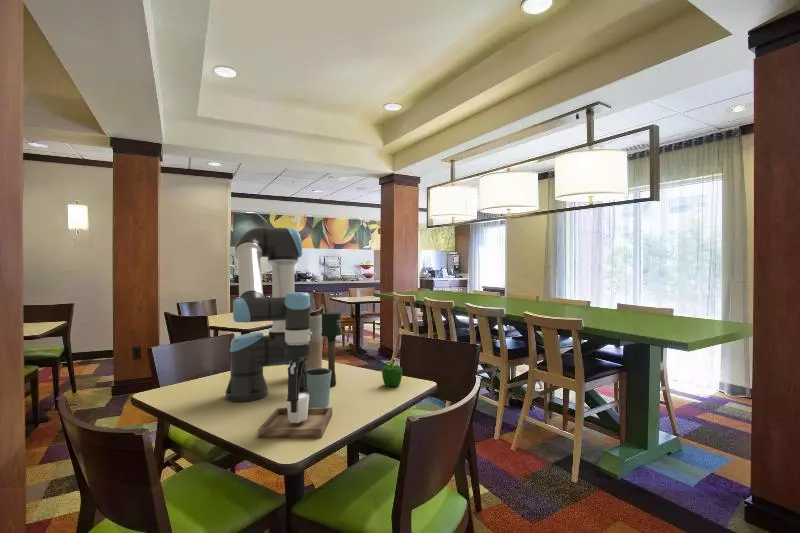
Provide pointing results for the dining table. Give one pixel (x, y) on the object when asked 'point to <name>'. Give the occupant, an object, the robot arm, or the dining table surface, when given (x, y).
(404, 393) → the dining table surface
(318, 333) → the vase
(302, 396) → the white cup
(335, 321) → the stick grenade
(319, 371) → the blue cup
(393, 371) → the bell pepper
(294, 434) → the tray
